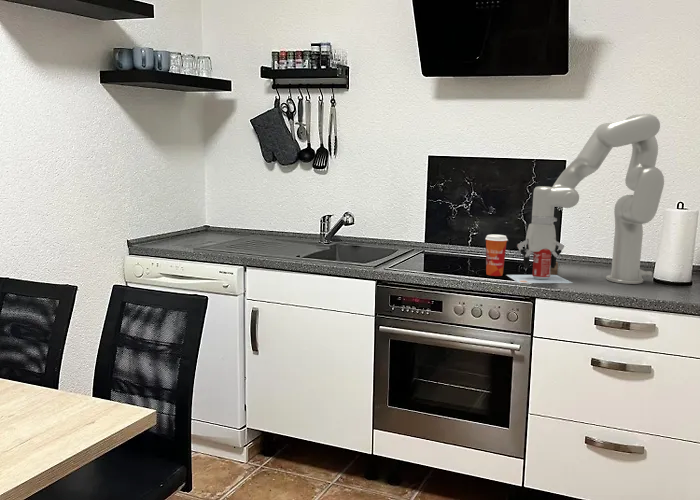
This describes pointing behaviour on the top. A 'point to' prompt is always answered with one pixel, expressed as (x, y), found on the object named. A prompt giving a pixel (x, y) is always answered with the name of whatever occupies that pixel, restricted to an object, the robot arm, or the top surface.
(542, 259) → the beverage can
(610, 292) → the top surface
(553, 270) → the walnut block
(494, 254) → the coffee cup
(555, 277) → the envelope
